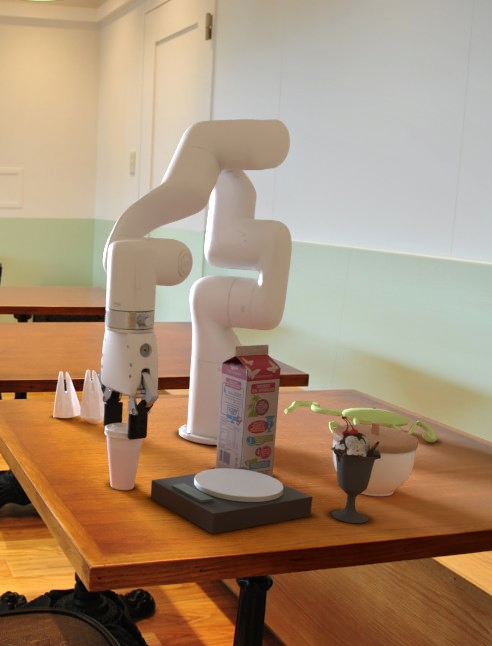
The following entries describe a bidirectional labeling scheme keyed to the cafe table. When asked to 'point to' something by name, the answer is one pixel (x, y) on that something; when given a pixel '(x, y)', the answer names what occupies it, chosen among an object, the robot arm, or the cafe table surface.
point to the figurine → (367, 418)
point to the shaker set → (90, 402)
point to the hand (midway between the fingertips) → (124, 431)
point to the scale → (230, 499)
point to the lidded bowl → (385, 456)
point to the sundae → (353, 470)
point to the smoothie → (122, 455)
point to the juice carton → (248, 410)
